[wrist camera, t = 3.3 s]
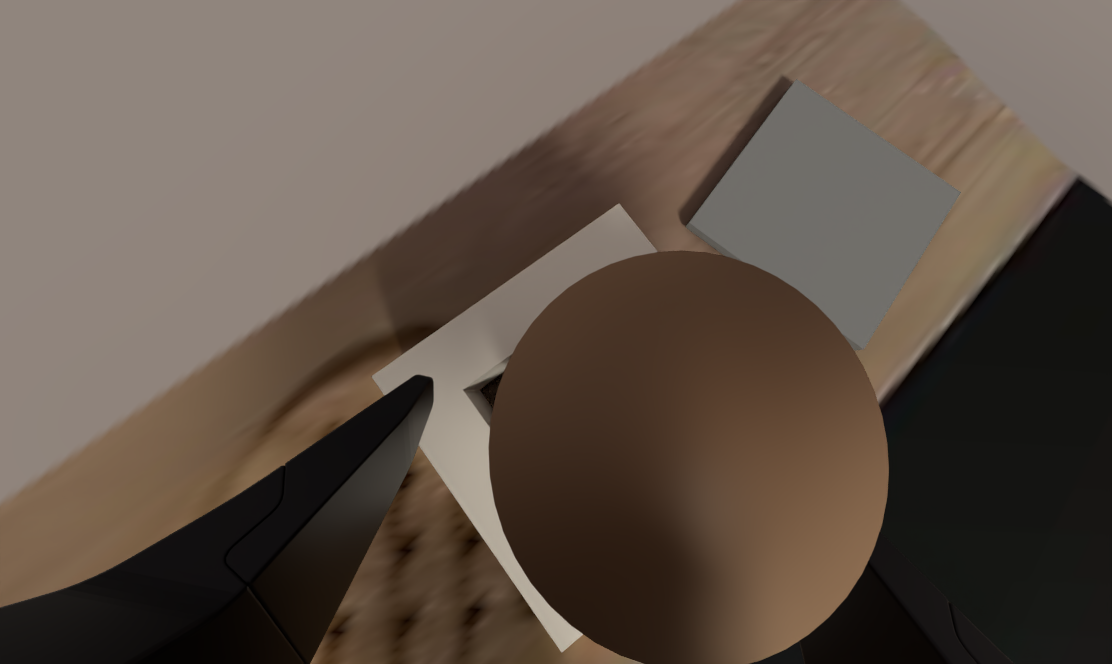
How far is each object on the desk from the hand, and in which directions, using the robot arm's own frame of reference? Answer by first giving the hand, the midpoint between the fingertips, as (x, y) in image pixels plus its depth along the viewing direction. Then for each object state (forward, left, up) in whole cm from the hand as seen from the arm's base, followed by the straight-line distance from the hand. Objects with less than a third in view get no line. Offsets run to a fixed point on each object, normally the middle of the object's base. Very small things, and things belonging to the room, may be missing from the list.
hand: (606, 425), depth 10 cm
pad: (-4, -15, -8) cm, 18 cm away
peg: (0, 0, -8) cm, 8 cm away
